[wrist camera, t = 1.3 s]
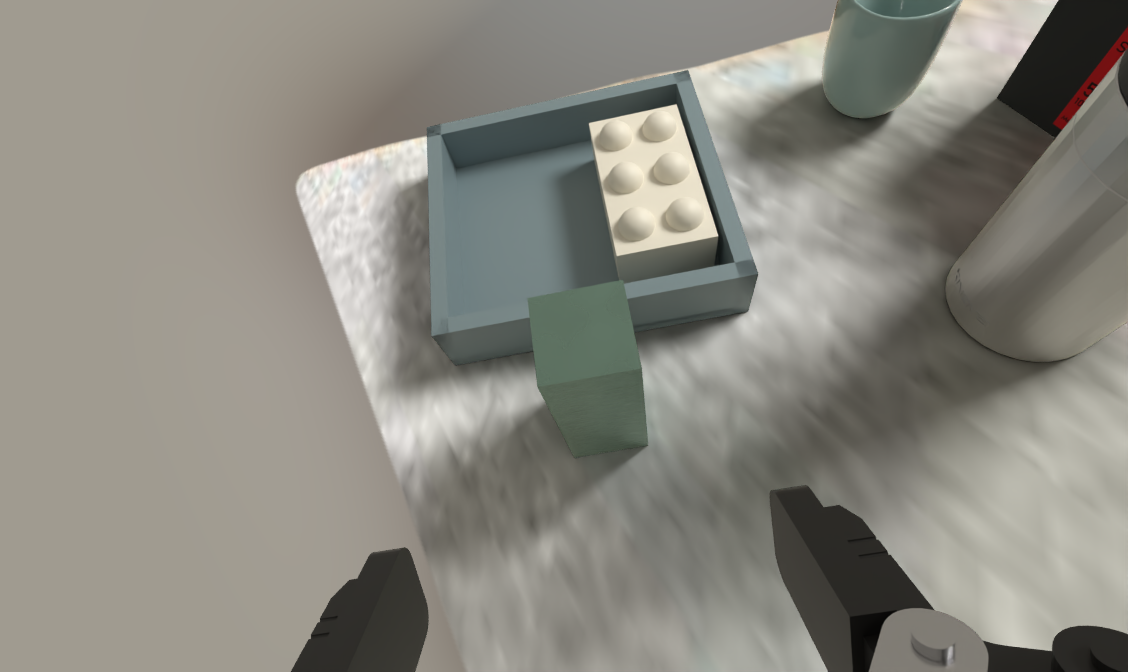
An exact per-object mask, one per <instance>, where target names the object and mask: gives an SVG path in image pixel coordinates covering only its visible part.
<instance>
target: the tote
mask: <svg viewBox="0 0 1128 672" xmlns="http://www.w3.org/2000/svg"><path fill="white" fill-rule="evenodd" d="M676 104H677V107H678V110H679V114H680V117H681V120H682V123H683V126H684V129H685V132H686V136H687V139H688V142H689V145H690V148H691V151H692V154H693V158H694V161H695V164H696V167H697V170H698V173H699V177H700V180H701V183H702V186H703V189H704V192H705V195H706V199H707V202H708V205H709V208H710V211H711V214H712V217H713V221H714V224H715V227H716V230H717V233H718V243H717V250H716V257H715V264H714V267H708V268H703V269H698V270H693V271H687V272H682V273H677V274H672V275H667V276H661V277H656V278H651V279H646V280H641V281H635V282H630V283H625V284H624V286H625V291H626V296H627V301H628V305H629V310H630V315H631V320H632V324H633V329H634V332H639V331H645V330H650V329H655V328H661V327H666V326H672V325H677V324H682V323H688V322H693V321H699V320H704V319H709V318H715V317H720V316H726V315H731V314H736V313H742V312H747V311H748V310H749V306H750V303H751V299H752V295H753V292H754V288H755V284H756V281H757V277H758V272H757V269H756V266H755V263H754V260H753V257H752V254H751V251H750V248H749V246H748V243H747V240H746V237H745V234H744V231H743V228H742V225H741V222H740V219H739V217H738V214H737V211H736V208H735V205H734V202H733V199H732V196H731V193H730V190H729V188H728V185H727V182H726V179H725V176H724V173H723V170H722V167H721V164H720V161H719V159H718V156H717V153H716V150H715V147H714V144H713V141H712V138H711V135H710V132H709V129H708V127H707V124H706V121H705V118H704V115H703V112H702V109H701V106H700V103H699V100H698V98H697V95H696V92H695V89H694V86H693V83H692V80H691V77H690V74H689V71H688V70H687V71H682V72H677V73H673V74H668V75H664V76H659V77H655V78H650V79H645V80H641V81H636V82H632V83H627V84H622V85H618V86H613V87H609V88H604V89H600V90H595V91H590V92H586V93H581V94H577V95H572V96H568V97H563V98H559V99H554V100H549V101H545V102H541V103H536V104H531V105H526V106H522V107H518V108H513V109H508V110H504V111H499V112H494V113H490V114H485V115H481V116H477V117H472V118H467V119H462V120H458V121H453V122H449V123H444V124H439V125H435V126H430V127H427V158H428V202H429V246H430V290H431V334H432V337H433V338H434V340H435V341H436V342H437V343H438V345H439V346H440V347H441V348H442V350H443V351H444V352H445V354H446V355H447V356H448V357H449V359H450V360H451V361H452V362H453V364H454V365H455V366H456V365H461V364H466V363H472V362H477V361H483V360H488V359H493V358H499V357H504V356H510V355H515V354H520V353H526V352H531V351H533V343H532V334H531V326H530V317H529V308H528V300H527V298H531V297H536V296H541V295H546V294H551V293H557V292H562V291H567V290H572V289H577V288H582V287H588V286H593V285H598V284H603V283H608V282H614V281H619V277H618V272H617V268H616V263H615V258H614V253H613V248H612V243H611V239H610V234H609V229H608V224H607V219H606V214H605V210H604V205H603V200H602V195H601V190H600V185H599V181H598V176H597V171H596V166H595V161H594V155H593V148H592V142H591V135H590V128H589V123H592V122H597V121H601V120H606V119H611V118H615V117H620V116H625V115H629V114H634V113H639V112H643V111H648V110H653V109H657V108H662V107H667V106H671V105H676Z"/></svg>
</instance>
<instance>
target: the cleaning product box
mask: <svg viewBox="0 0 1128 672" xmlns="http://www.w3.org/2000/svg"><path fill="white" fill-rule="evenodd" d="M1127 48H1128V0H1059V1H1058V2H1057V4H1056V5H1055V7H1054V8H1053V10H1052V12H1051V13H1050V15H1049V16H1048V18H1047V20H1046V21H1045V23H1044V24H1043V26H1042V27H1041V29H1040V31H1039V32H1038V34H1037V35H1036V37H1035V39H1034V40H1033V42H1032V43H1031V45H1030V46H1029V48H1028V50H1027V51H1026V53H1025V54H1024V56H1023V58H1022V59H1021V61H1020V62H1019V64H1018V65H1017V67H1016V69H1015V70H1014V72H1013V73H1012V75H1011V76H1010V78H1009V80H1008V81H1007V83H1006V84H1005V86H1004V88H1003V89H1002V91H1001V92H1000V94H999V95H998V97H997V98H998V99H999V100H1001V101H1002V102H1003V103H1005V104H1006V105H1008V106H1009V107H1011V108H1012V109H1014V110H1015V111H1017V112H1018V113H1020V114H1021V115H1023V116H1024V117H1026V118H1027V119H1029V120H1030V121H1032V122H1033V123H1035V124H1036V125H1037V126H1039V127H1040V128H1042V129H1043V130H1045V131H1046V132H1048V133H1049V134H1051V135H1052V136H1054V137H1055V138H1056V137H1057V136H1058V135H1059V133H1060V132H1061V131H1062V130H1063V128H1064V127H1065V126H1066V125H1067V123H1068V122H1069V121H1070V120H1071V118H1072V117H1073V116H1074V115H1075V113H1076V112H1077V111H1078V110H1079V109H1080V107H1081V106H1082V105H1083V104H1084V102H1085V101H1086V99H1087V98H1088V97H1089V96H1090V94H1091V93H1092V92H1093V91H1094V89H1095V88H1096V87H1097V86H1098V84H1099V83H1100V82H1101V81H1102V79H1103V78H1104V77H1105V76H1106V74H1107V73H1108V72H1109V71H1110V70H1111V68H1112V67H1113V66H1114V65H1115V63H1116V62H1117V61H1118V60H1119V58H1120V57H1121V56H1122V55H1123V53H1124V52H1125V51H1126V50H1127Z"/></svg>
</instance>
